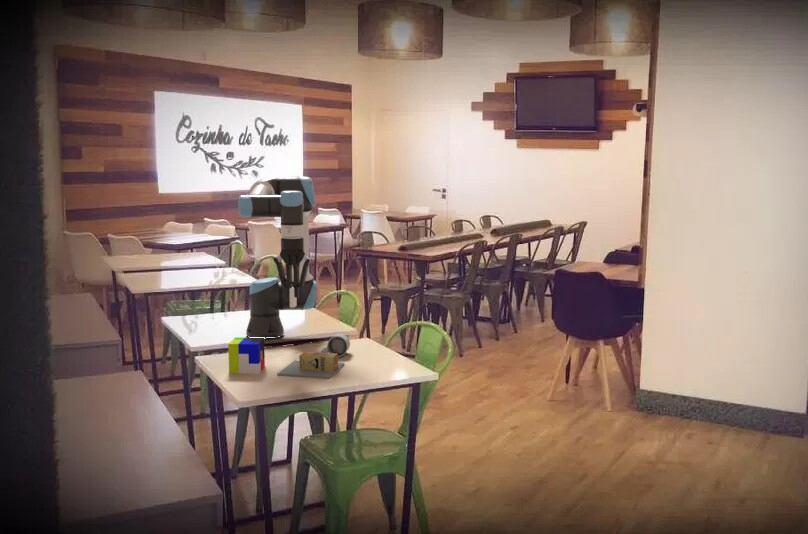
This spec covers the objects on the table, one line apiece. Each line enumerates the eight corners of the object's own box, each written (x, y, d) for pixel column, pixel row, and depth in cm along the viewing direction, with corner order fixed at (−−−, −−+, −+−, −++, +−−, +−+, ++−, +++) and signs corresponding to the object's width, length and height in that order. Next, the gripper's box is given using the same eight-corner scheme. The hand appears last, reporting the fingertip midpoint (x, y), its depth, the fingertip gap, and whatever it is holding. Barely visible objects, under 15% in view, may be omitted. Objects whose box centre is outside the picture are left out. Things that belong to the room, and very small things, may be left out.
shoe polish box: (299, 369, 265) (333, 371, 262) (299, 355, 264) (333, 357, 262) (304, 365, 270) (337, 367, 267) (304, 351, 269) (337, 353, 267)
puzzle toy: (258, 373, 262) (258, 344, 261) (229, 373, 262) (228, 343, 261) (264, 365, 272) (264, 337, 271) (236, 365, 272) (235, 337, 271)
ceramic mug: (351, 352, 292) (350, 331, 292) (347, 357, 284) (347, 336, 283) (322, 351, 293) (322, 331, 292) (318, 357, 285) (318, 336, 284)
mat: (295, 362, 277) (295, 360, 277) (344, 364, 274) (344, 363, 274) (277, 375, 260) (277, 373, 260) (329, 378, 256) (329, 376, 256)
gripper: (269, 238, 260) (271, 308, 263) (307, 239, 257) (308, 309, 261) (277, 235, 267) (278, 303, 271) (314, 236, 265) (315, 305, 268)
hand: (293, 306), depth 266 cm, fingers closed
